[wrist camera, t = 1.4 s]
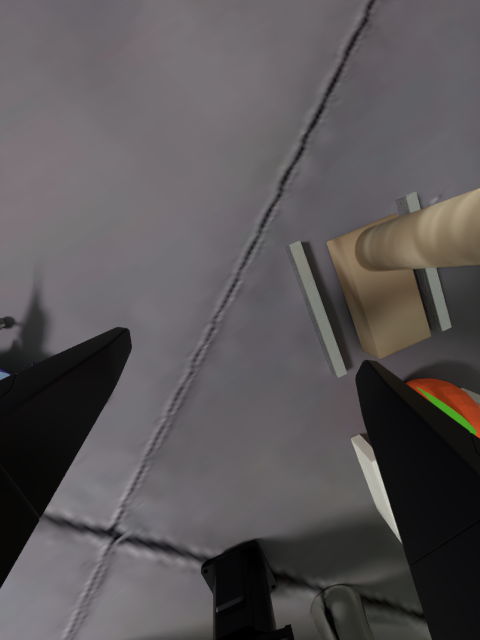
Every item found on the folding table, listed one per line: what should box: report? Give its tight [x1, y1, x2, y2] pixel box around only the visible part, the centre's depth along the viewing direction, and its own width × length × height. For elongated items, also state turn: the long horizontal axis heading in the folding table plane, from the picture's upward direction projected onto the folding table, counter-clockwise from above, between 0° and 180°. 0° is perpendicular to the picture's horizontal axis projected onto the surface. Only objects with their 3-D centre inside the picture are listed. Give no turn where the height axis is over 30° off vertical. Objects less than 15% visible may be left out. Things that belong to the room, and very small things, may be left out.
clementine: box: [406, 378, 480, 438], centre depth 22 cm, size 8×7×7 cm
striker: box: [327, 188, 480, 359], centre depth 16 cm, size 11×5×15 cm, turn 23°
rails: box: [285, 192, 451, 378], centre depth 23 cm, size 13×12×1 cm
